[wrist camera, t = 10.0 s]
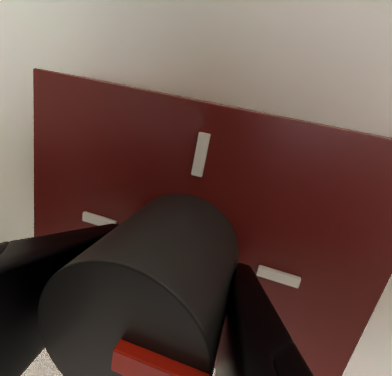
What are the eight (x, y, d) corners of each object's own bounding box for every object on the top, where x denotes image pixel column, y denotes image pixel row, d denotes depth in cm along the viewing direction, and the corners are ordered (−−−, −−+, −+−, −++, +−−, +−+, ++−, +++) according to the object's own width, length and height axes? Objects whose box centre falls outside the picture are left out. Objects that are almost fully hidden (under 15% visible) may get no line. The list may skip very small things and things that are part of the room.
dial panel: (70, 268, 15) (31, 300, 13) (79, 76, 12) (28, 66, 9) (314, 356, 13) (325, 416, 10) (407, 141, 9) (457, 152, 7)
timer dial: (127, 275, 11) (26, 390, 6) (138, 180, 10) (23, 241, 5) (225, 308, 10) (188, 466, 6) (251, 210, 9) (231, 314, 4)
